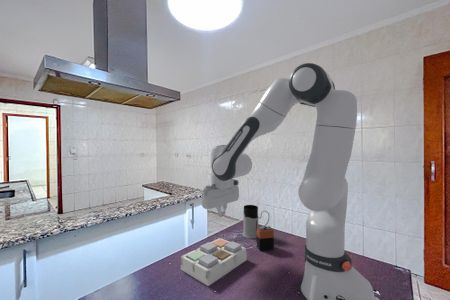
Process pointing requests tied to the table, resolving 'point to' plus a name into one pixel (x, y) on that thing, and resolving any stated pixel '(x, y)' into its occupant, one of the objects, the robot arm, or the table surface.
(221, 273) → the keypad
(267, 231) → the battery
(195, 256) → the key sage
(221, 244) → the key terracotta
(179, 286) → the table surface
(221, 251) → the key walnut
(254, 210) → the glass holder
